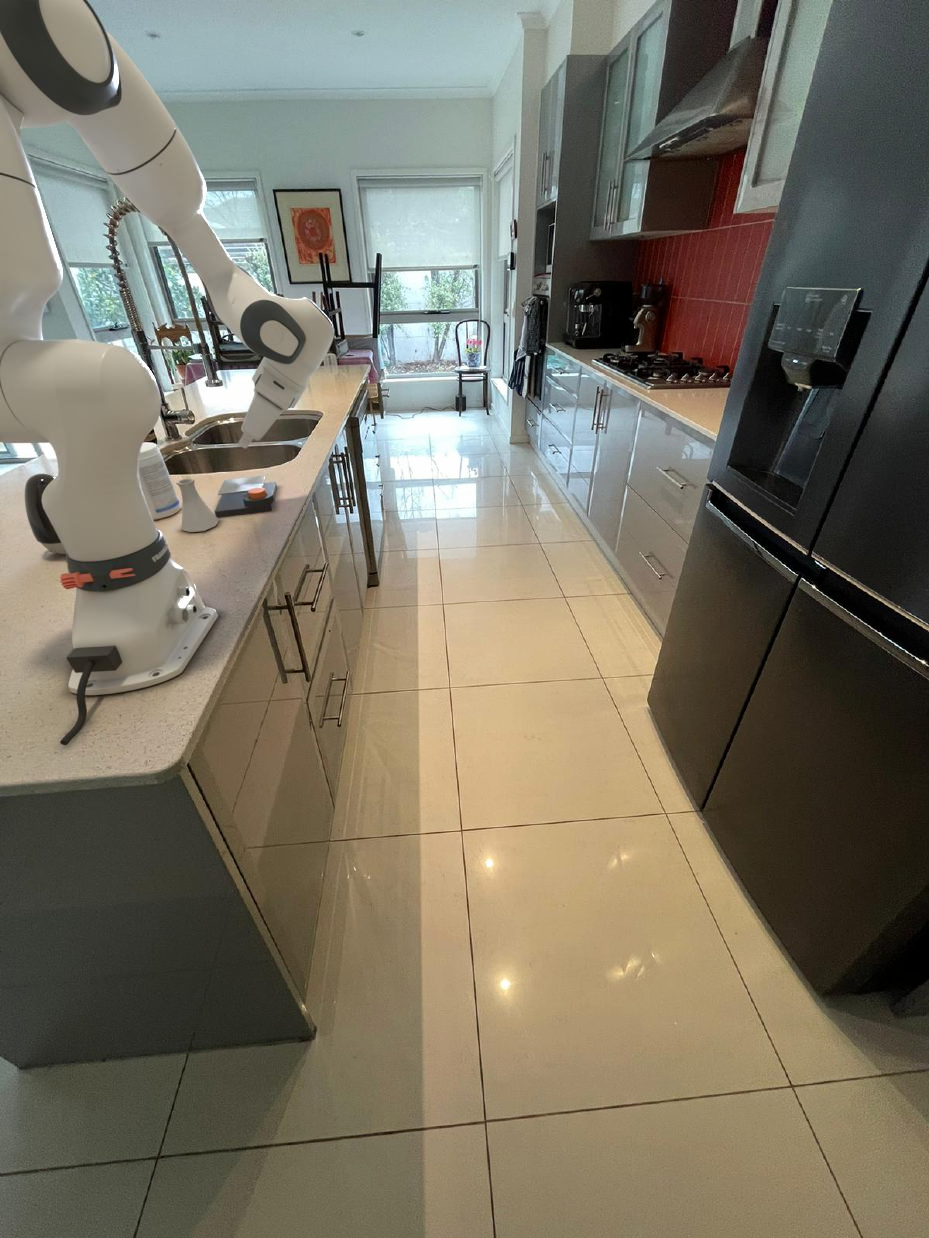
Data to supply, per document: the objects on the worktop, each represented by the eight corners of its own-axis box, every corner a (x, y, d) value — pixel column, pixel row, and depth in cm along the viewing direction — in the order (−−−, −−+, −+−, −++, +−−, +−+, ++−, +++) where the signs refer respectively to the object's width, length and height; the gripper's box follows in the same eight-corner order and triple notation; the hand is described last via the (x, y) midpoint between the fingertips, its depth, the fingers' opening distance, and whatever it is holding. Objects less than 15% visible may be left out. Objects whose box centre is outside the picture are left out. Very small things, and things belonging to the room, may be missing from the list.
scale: (275, 511, 116) (271, 498, 114) (216, 518, 114) (211, 505, 112) (279, 486, 129) (276, 475, 128) (226, 492, 127) (223, 480, 126)
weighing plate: (261, 490, 119) (261, 489, 119) (218, 495, 117) (217, 493, 117) (265, 477, 127) (265, 475, 126) (224, 481, 125) (224, 480, 125)
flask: (205, 534, 107) (189, 487, 101) (175, 532, 108) (157, 486, 103) (225, 520, 113) (211, 475, 107) (196, 518, 114) (181, 474, 109)
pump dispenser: (115, 544, 105) (81, 470, 96) (59, 565, 98) (17, 487, 89) (91, 533, 109) (57, 462, 101) (36, 552, 102) (-6, 478, 94)
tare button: (266, 498, 115) (264, 492, 115) (249, 500, 115) (247, 494, 114) (267, 493, 118) (265, 486, 118) (251, 495, 118) (249, 488, 117)
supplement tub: (183, 502, 123) (161, 439, 114) (180, 517, 115) (155, 451, 107) (138, 509, 120) (112, 445, 112) (132, 524, 113) (103, 457, 104)
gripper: (266, 369, 107) (233, 425, 111) (257, 382, 90) (219, 448, 94) (294, 389, 110) (261, 442, 114) (290, 405, 93) (252, 468, 97)
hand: (242, 445), depth 104 cm, fingers closed
